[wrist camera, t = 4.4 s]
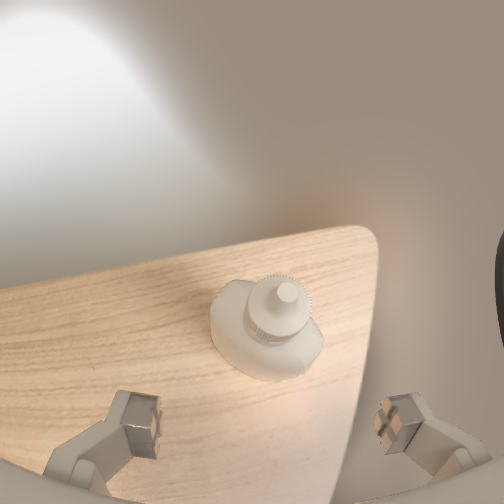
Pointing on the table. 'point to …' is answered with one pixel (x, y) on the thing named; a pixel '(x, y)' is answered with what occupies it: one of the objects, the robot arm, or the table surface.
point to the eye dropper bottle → (266, 328)
